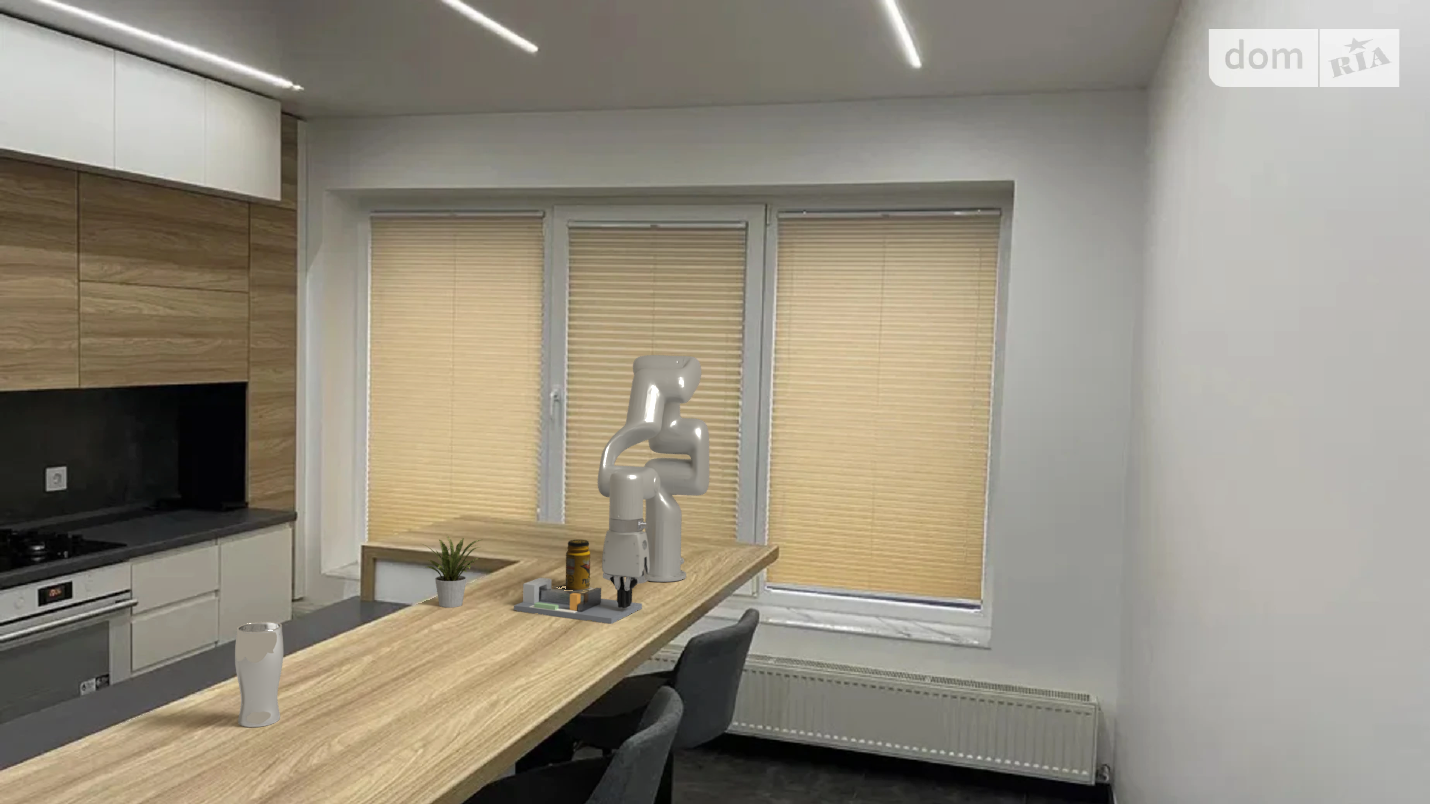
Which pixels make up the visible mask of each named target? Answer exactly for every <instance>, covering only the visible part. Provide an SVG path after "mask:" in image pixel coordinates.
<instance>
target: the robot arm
mask: <svg viewBox="0 0 1430 804" xmlns="http://www.w3.org/2000/svg"><path fill="white" fill-rule="evenodd" d="M632 372H633V378H632V383H631V387H630V388H631V389H630V396H629V401H628V408H627V411H626V420H625V424H624V425H623V426H622V427H621V428H620V429H619V430H617V432H615V433H614V434H613V435H612V436H611V438H609V440H608V442H607V443H606V444H605V446H604V449H602V452H601V457H600V463H599V467H598V472H597V474H598V475H597V489H598V491H599V493H600V495H602V496H604V497H606V498H609V512H608V514H609V517H608V530H606V533H605V535H604V536H605V538H604V540H603V541H604V542H603V547H602V548H603V549H602V558H601V559H602V560H601V568H602V569H601V570H602V578H603V579H605V580H607V581H610V582H611V583H612V584H613V586H614V589H615V590H616V600H617V603H618V607H619V608H621V607H622V608H627V607H629V606H630V605H631V603H632V602H633V589H634V588H635V587H636V586H637V585H638V584H639V585H640V584H644V583H646V582H648V581H650V582H655V583H657V582H658V583H663V582H664V583H665V582H666V583H667V582H679V581H682V579H683V580H684V579H686V578H687V572H686V571H685V570H681V566H682V565H683V564H684V563H685V559H684V557H683V556H682V516H683V514H682V510H681V509H682V508H681V507H680V505H679V503H678V501H677V500H676V498H675V497H674V496H693V497H694V496H703V495H704V494H705V493H707V492H708V489H709V487H710V486H709V485H710V432H709V427H708V425H707V423H706V422H705V421H704V420H703V419H701V418H693V417H691V418H690V417H689V418H687V417H682V416H681V404H686V403H688V402H689V401H691V399H692V397H693V396H694V394H695V392H696V390H697V389H698V387H699V384H700V382H701V379H702V378H701V377H702V366H701V363H700V361H699V359H698V358H696V357H695V356H691V355H668V354H667V355H664V354H662V355H661V354H650V355H649V354H647V355H640V356H638V357H636V358H635V359H634V361H633V364H632ZM645 441H648V445H649V448H650V450H651V451H652V452H653V453H657V454H661V455H662V454H664V455H665V454H666V455H687V456H689V457H690V458H677V457H657V458H656V457H655V458H651V459H649V460H648V461H647V462H646V463H645V464H644V465H643V466H635V465H615V463H616V460H617V459H618V457H619V456H620V455H621V454H622V453H623V452H625V450H627V449H629V448H631V447H633V446H636V445H638V444H640V443H643V442H645ZM644 500H645V521H644Z"/></svg>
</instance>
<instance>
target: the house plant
mask: <svg viewBox="0 0 1430 804" xmlns="http://www.w3.org/2000/svg"><path fill="white" fill-rule="evenodd" d="M446 539H447V540H448V544H449V547H450V548H448V546H447V545H446V544H445V543H444V541H443V540H442V539H438V542H439V544H440V545H439V546H440V548H441V554H442V556H441V555H440V553H439V552H438V551H437V550H433V549H432V548H430V547H429V546H427V545H425V544H422V543H421V545H422V546H425V547H426V548H428V549H430V550H431V552H432V553H434V555H435V556H436V557H437V559H438V560H439V561H440V564H439V563H438V562H436V561H434V560H432V559H428V561H429V562H431V564H432V565H433V566H431V565H427V566H426V568H429V569H430V570H433V571H436V572H437V573H438V575H439V576H437V577H435V579H434V580H435V586H436V592H437V593H436V594H437V599H438V605H439V607H441V608H457V607H461V606H463V603H464V596H465V591H466V584H467V576H465V575H462V574H463V572H465V573H468V572H467V568H468V569H469V570H470V569H471V565H470V564H472V563H473V564H474V565H475V564H476V563H475V562H474V561H476V560H480V559H481V557H479V558H474V559H472V560H466V559H467V557H468V556H469V555H470V554H471V553H472V552H473V551H474V550H476V549H479V548H481V546H475V547H474V548H473V546H474V544H475V543H477V542H480V541H482V539H477V540H474V541H472V542H470V543H469V544H468V545H467V546H466V547H465V548H464V549H463V551H462V548H463V547H464V546H463V545H464V540H465V538H464V537H462V538H461V539H460V540H459V542H458V543H457V544H456V547H454V543H453V541H452V539H451V537H449V535H446ZM471 547H472V549H471V550H469V548H471ZM449 550H450V553H449ZM467 550H469V551H468V553H467ZM461 552H462V553H461ZM466 553H467V554H466ZM465 554H466V556H465V557H464V559H463V560H462V558H463V556H464V555H465ZM461 560H462V562H460V561H461ZM459 563H460V564H459ZM466 563H467V564H466ZM465 564H466V565H465ZM434 566H435V567H434ZM441 573H442V574H441Z"/></svg>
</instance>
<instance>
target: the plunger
mask: <svg viewBox="0 0 1430 804" xmlns="http://www.w3.org/2000/svg"><path fill="white" fill-rule="evenodd" d="M572 593H578V594H581V600H580V603H579V604H578V611H581V612H583V611H585V610H587V609H589V608H592V607H594V606H596V605H598V604H601V599H602V587H595V588H594V589H592V590H589V591H584V592H581V591H578V592H577V591H576V592H572V591H564V590H557V589H556V588H551V589H547V588H539V601H547V602H555V603H562V604H570V594H572Z"/></svg>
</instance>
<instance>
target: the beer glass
mask: <svg viewBox="0 0 1430 804" xmlns="http://www.w3.org/2000/svg"><path fill="white" fill-rule="evenodd" d="M283 638H284V637H283V624H282V623H280V622H277V621H269V620H267V621H254V622H248V623H244V624H240V625H239V626H237V627H236V635H235V645H234V646H235V647H234V649H235V650H234V665H235V672H236V678H237V682H238V687H239V693H240V708H239V713H238V719H237V723H238V725H239V726H242V727H244V728H259V727H260V728H261V727H266V726H267V727H268V726H270V725H273V724H275V723H277V722H279V721H280V719H281V714H280V709H279V703H278V700H279V699H278V696H279V695H278V694H279V693H278V692H279V686H280V680H281V674H282V670H283V663H284V662H283V661H284V639H283Z"/></svg>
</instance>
